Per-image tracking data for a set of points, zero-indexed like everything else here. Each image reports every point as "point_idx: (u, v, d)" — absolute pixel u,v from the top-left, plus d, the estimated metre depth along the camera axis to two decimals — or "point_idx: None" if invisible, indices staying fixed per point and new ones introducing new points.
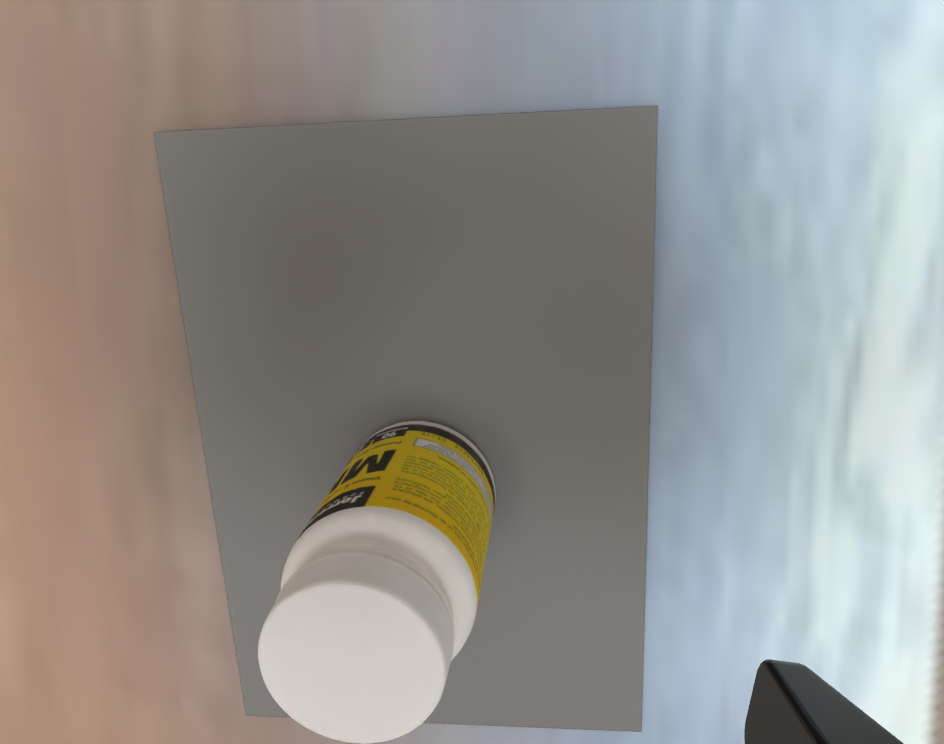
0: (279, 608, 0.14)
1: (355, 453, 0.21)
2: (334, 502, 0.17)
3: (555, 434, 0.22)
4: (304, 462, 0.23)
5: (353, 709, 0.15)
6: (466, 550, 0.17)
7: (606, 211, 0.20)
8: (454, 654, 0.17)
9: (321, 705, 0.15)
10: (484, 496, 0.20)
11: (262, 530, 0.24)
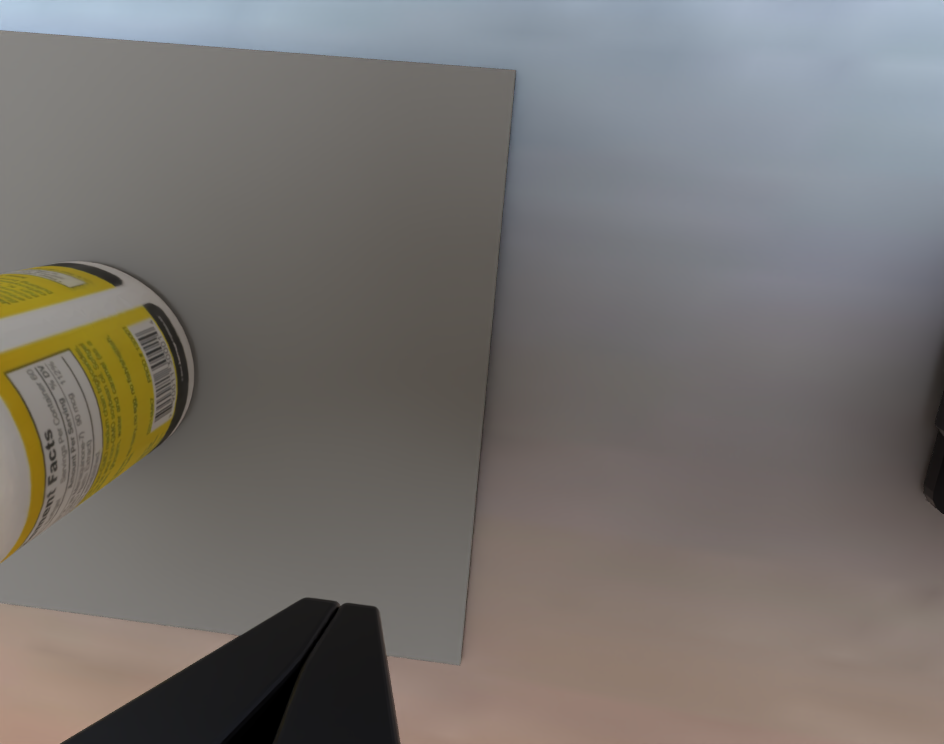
0: None
1: None
2: None
3: (13, 167, 0.16)
4: None
5: None
6: None
7: None
8: None
9: None
10: None
11: (174, 573, 0.18)
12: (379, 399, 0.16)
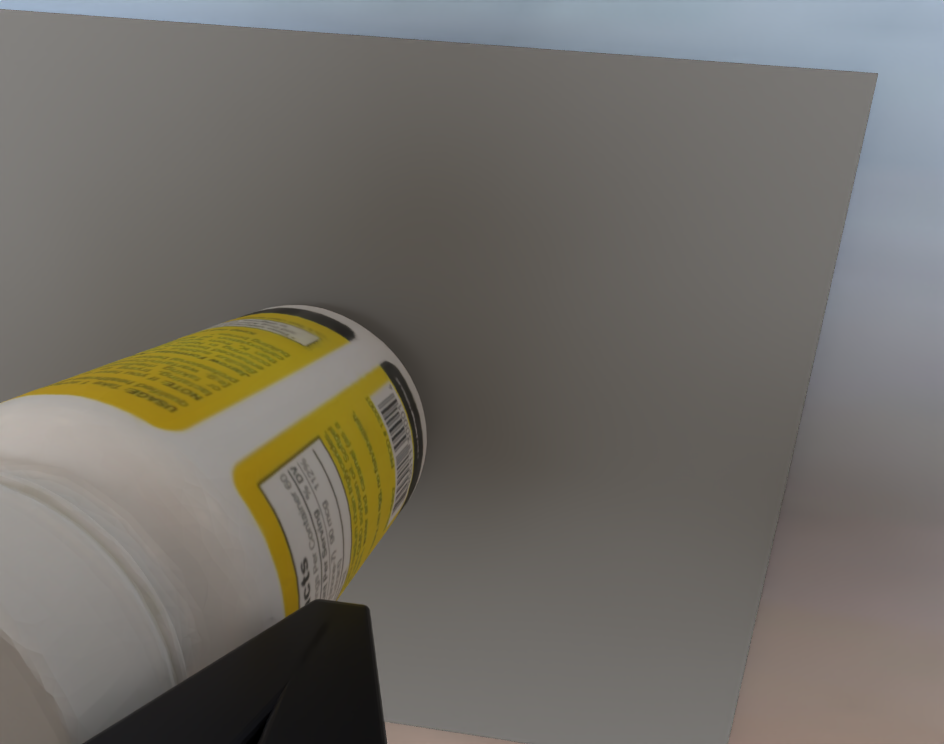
0: None
1: None
2: None
3: (232, 190, 0.13)
4: None
5: None
6: (25, 393, 0.08)
7: None
8: (159, 477, 0.07)
9: None
10: (207, 328, 0.11)
11: (385, 661, 0.16)
12: (657, 467, 0.14)
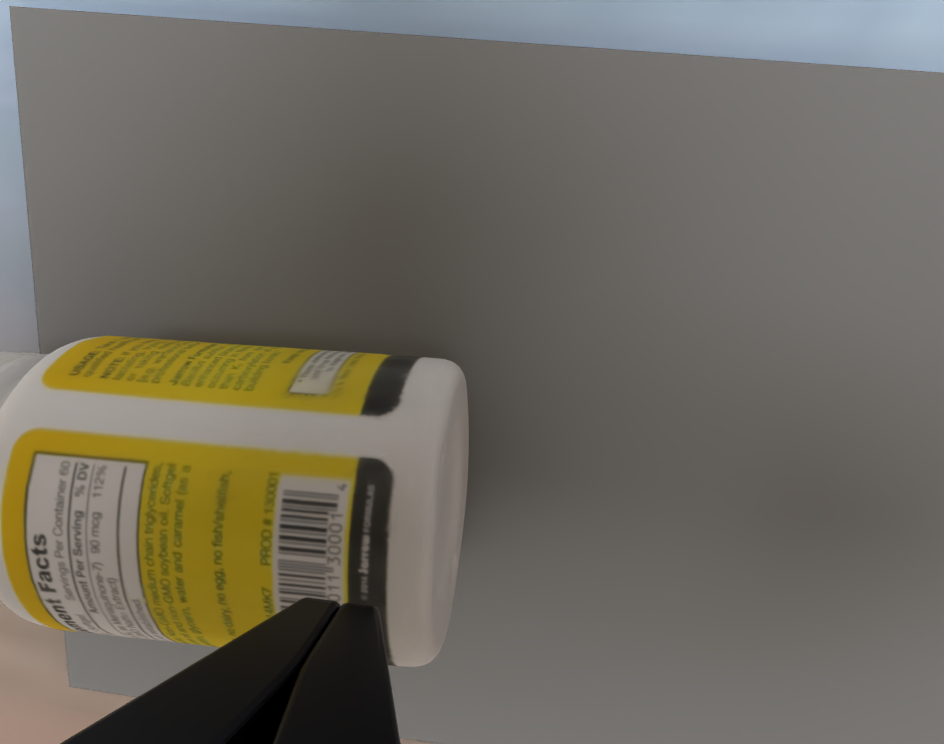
0: None
1: None
2: None
3: (527, 218, 0.12)
4: (531, 622, 0.15)
5: None
6: None
7: (161, 98, 0.13)
8: (4, 405, 0.10)
9: None
10: None
11: (641, 712, 0.15)
12: None
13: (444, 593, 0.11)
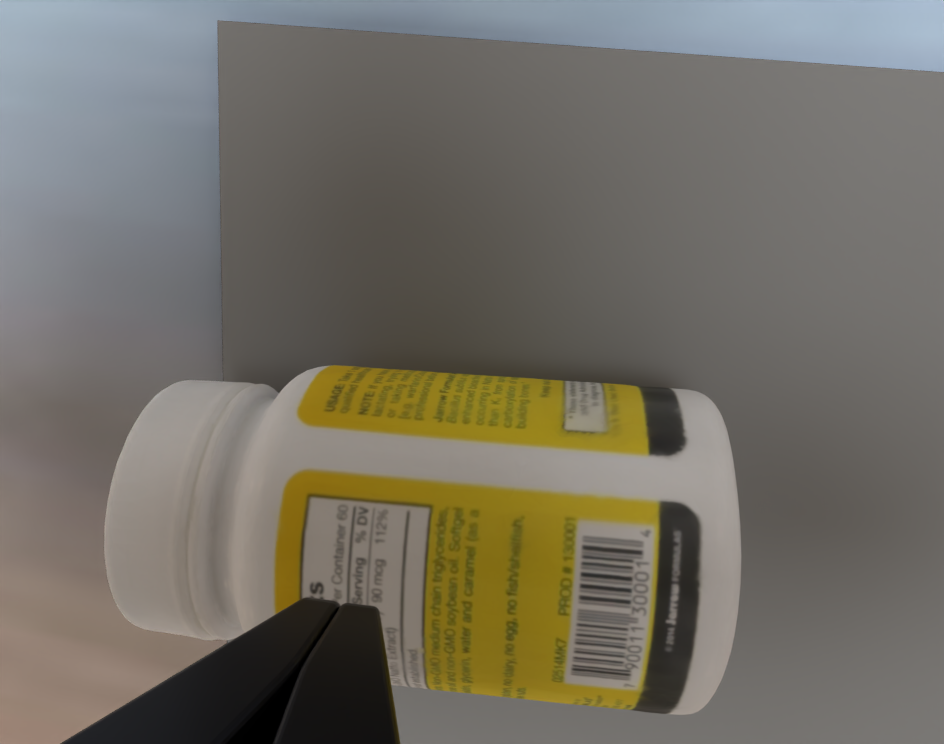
0: None
1: None
2: None
3: (756, 241, 0.12)
4: None
5: None
6: None
7: (373, 116, 0.12)
8: (260, 443, 0.10)
9: None
10: None
11: None
12: None
13: None
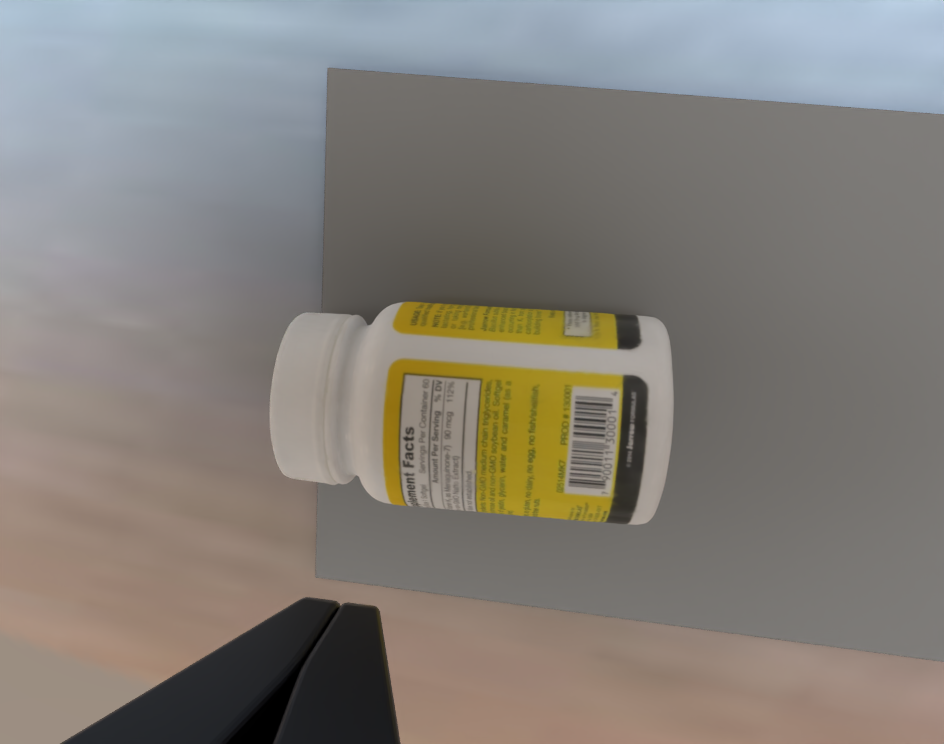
0: None
1: None
2: None
3: (696, 219, 0.17)
4: (681, 519, 0.20)
5: None
6: None
7: (433, 133, 0.18)
8: (370, 345, 0.15)
9: None
10: None
11: (761, 586, 0.20)
12: None
13: None
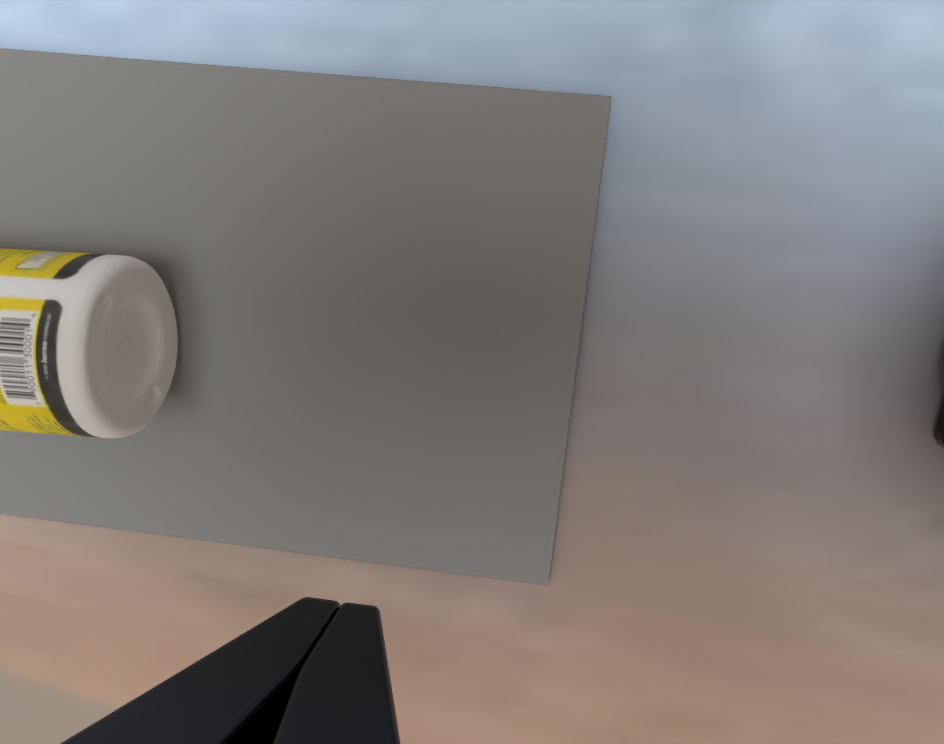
0: None
1: None
2: None
3: (199, 173, 0.20)
4: (233, 446, 0.22)
5: None
6: None
7: None
8: None
9: None
10: None
11: (311, 508, 0.22)
12: (490, 361, 0.20)
13: (132, 400, 0.19)
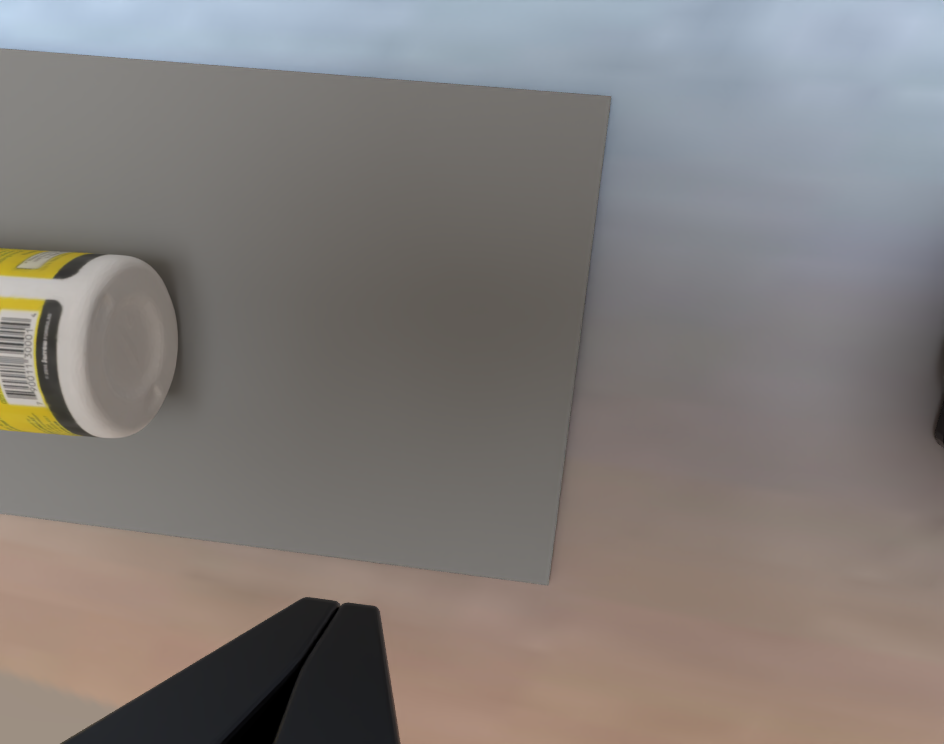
0: None
1: None
2: None
3: (199, 173, 0.20)
4: (234, 446, 0.22)
5: None
6: None
7: None
8: None
9: None
10: None
11: (311, 508, 0.22)
12: (490, 361, 0.20)
13: (132, 400, 0.19)
